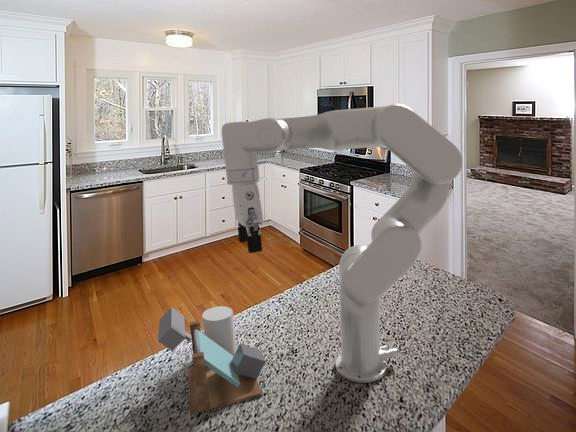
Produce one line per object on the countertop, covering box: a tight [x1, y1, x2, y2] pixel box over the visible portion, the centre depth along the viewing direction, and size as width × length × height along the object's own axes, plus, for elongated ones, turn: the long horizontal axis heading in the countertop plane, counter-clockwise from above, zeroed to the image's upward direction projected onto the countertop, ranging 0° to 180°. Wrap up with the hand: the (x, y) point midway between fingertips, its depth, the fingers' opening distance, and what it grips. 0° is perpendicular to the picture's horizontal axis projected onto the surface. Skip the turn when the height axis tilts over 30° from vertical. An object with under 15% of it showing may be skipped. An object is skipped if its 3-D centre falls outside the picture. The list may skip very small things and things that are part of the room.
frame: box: [187, 320, 263, 414], centre depth 90 cm, size 16×16×14 cm
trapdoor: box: [157, 306, 240, 387], centre depth 88 cm, size 21×13×4 cm
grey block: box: [232, 343, 267, 380], centre depth 93 cm, size 5×5×6 cm
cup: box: [201, 305, 237, 357], centre depth 103 cm, size 8×8×12 cm
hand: (250, 246), depth 91 cm, fingers open, 9 cm apart
